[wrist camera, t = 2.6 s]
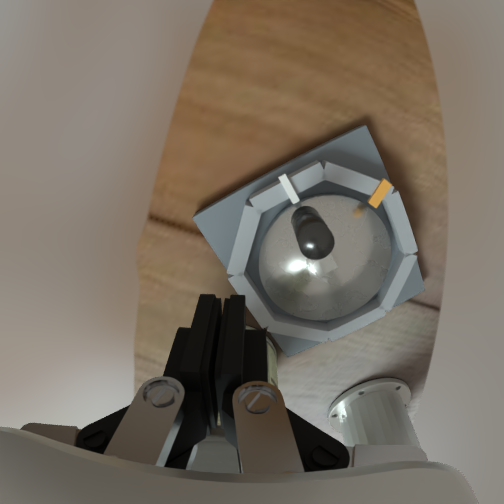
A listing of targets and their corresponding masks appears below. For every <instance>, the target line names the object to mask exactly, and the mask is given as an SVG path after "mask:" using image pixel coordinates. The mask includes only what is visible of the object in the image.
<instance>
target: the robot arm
mask: <svg viewBox="0 0 504 504" xmlns="http://www.w3.org/2000/svg"><path fill="white" fill-rule="evenodd" d="M410 400H411V392H410V389H409V387H408V385H407V384H406V383H405V382H403V381H402V380H399V379H395V378H381V379H375V380H371V381H368V382H365V383H362V384H360V385H357V386H355V387H353V388H352V389H350V390H348V391H347V392H345V393H344V394H342V395H341V396H340V397H339V398H337V399H336V400H335V402H334V403H333V404H332V405H331V407H330V409H329V411H328V422H329V425H330V427H331V428H332V429H333V430H335V431H337V432H339V433H342V435H343V440H344V445H345V446H344V445H343V444H342V443H341V442H339V441H338V440H336V439H334V438H333V437H331V436H329V435H328V434H326V433H325V432H323V431H321V430H320V429H318V428H317V427H315V426H313V425H312V424H310V423H309V422H307V421H306V420H304V419H303V418H301V417H300V416H298V415H297V414H295V413H294V412H292V411H291V410H289V409H288V408H286V407H285V403H284V400H283V396H282V394H281V392H280V390H279V389H278V388H277V387H276V386H274V385H272V384H270V383H268V368H267V345H266V329H246V297H245V295H231V296H230V299H228V298H225V302H224V308H223V315H222V306H221V298H216V296H215V294H200V297H199V300H198V304H197V307H196V311H195V314H194V318H193V322H192V325H191V328H184V327H179V328H178V330H177V333H176V336H175V339H174V342H173V345H172V348H171V352H170V355H169V358H168V361H167V364H166V367H165V371H164V374H163V376H161V377H155V378H152V379H149V380H148V381H146V382H145V383H143V385H142V386H141V387H140V388H139V390H138V392H137V394H136V395H135V397H134V399H133V401H132V403H131V404H130V405H129V406H127V407H125V408H123V409H121V410H119V411H117V412H114V413H112V414H110V415H108V416H106V417H104V418H102V419H100V420H98V421H96V422H94V423H91V424H89V425H88V426H86V427H84V428H83V429H78V428H77V427H76V426H62V425H50V424H41V423H28V424H26V425H24V426H23V427H22V428H21V429H16V428H10V427H0V504H479V503H478V500H477V498H476V496H475V494H474V491H473V490H472V488H471V486H470V484H469V483H468V481H467V479H466V478H465V476H464V475H463V474H462V473H461V472H460V471H459V470H457V469H456V468H454V467H452V466H449V465H447V464H443V463H438V462H430V461H428V459H427V456H426V453H425V452H424V451H423V450H422V449H421V446H420V444H419V441H418V438H417V436H416V433H415V430H414V428H413V425H412V423H411V420H410V418H409V415H408V413H407V410H406V408H407V407H408V405H409V403H410ZM218 413H219V417H220V424H221V429H224V433H225V439H226V440H227V441H228V442H229V443H230V444H231V445H233V446H234V447H235V448H236V453H237V460H238V466H239V473H240V474H233V473H214V472H202V471H191V467H192V464H193V461H194V458H195V455H196V452H197V449H198V443H199V442H201V441H202V440H204V439H205V438H206V436H210V435H211V428H217V423H218Z"/></svg>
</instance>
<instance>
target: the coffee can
mask: <svg viewBox="0 0 504 504" xmlns="http://www.w3.org/2000/svg"><path fill="white" fill-rule="evenodd" d="M246 329H255V328H252V327H249V326H246ZM266 345H267V368H268V383H270V384H272V385H274V386H276V387H277V388H278V378H277V365H276V359H277V354H276V349H275V347H274V345H273V343H272V342H271V340H270V339H269V338H268V337H267V336H266ZM191 471H202V472H214V473H233V474H240V473H239V466H238V460H237V453H236V448H235V447H234V446H233V445H231V444H230V443H229V442H228V441H227V440H226V439H225V433H224V429H221V424H220V417H219V413H218V423H217V428H211V435H210V436H206V438H205V439H204V440H202V441H201V442H199V443H198V449H197V452H196V455H195V458H194V461H193V464H192V467H191Z"/></svg>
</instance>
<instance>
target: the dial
mask: <svg viewBox="0 0 504 504" xmlns="http://www.w3.org/2000/svg"><path fill="white" fill-rule="evenodd" d="M299 200H300V201H299V202H297V203H295V204H293V203H291V204H290V205H288V206H287V207H286V208H284V209H283V210H282V211H281V212H280V213H279V214H278V215H277V216H276V217H275V218H274V219H273V220H272V222H271V223H270V224H269V226H268V228H267V230H266V231H265V233H264V236H263V238H262V241H261V245H260V249H259V273H260V278H261V281H262V284H263V287H264V289H265V291H266V292H267V294H268V296H269V297H270V298H271V300H272V301H273V302H274V303H275V304H276V305H277V306H279V307H280V308H281V309H283V310H284V311H286V312H288V313H289V314H291V315H294V316H296V317H300V318H303V319H309V320H329V319H335V318H338V317H342V316H345V315H347V314H349V313H352V312H353V311H355V310H357V309H359V308H360V307H361V306H363V305H364V304H366V303H367V302H368V301H369V300H370V299H371V298H372V297H373V296H374V295H375V294H376V293H377V291H378V290H379V288H380V287H381V285H382V284H383V282H384V280H385V278H386V276H387V273H388V270H389V266H390V261H391V243H390V238H389V235H388V232H387V230H386V227H385V225H384V224H383V222H382V221H381V219H380V218H379V217H378V215H377V214H376V213H375V212H374V211H372V210H371V209H370V208H369V207H368V206H366V205H365V204H364V203H362V202H361V201H359V200H357V199H355V198H353V197H350V196H347V195H344V194H339V193H319V194H313V195H310V196H306V197H303V198H301V199H299Z"/></svg>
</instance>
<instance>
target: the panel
mask: <svg viewBox="0 0 504 504" xmlns="http://www.w3.org/2000/svg"><path fill="white" fill-rule="evenodd" d="M319 193H339V194H344V195H347V196H350V197H353V198H355V199H357V200H359V201H361V202H362V203H364V204H365V205H366V206H368V207H369V208H370V209H371V210H372V211H374V212H375V213H376V214H377V215H378V217H379V218H380V219H381V221H382V222H383V224H384V225H385V227H386V230H387V232H388V235H389V238H390V243H391V261H390V266H389V270H388V273H387V276H386V278H385V280H384V282H383V284H382V285H381V287H380V288H379V290H378V291H377V293H376V294H375V295H374V296H373V297H372V298H371V299H370V300H369V301H368V302H367V303H366V304H364V305H363V306H361V307H360V308H359V309H357V310H355V311H353V312H352V313H349V314H347V315H345V316H342V317H338V318H335V319H329V320H309V319H303V318H300V317H296V316H294V315H291V314H289V313H288V312H286V311H284V310H283V309H281V308H280V307H279V306H277V305H276V304H275V303H274V302H273V301H272V300H271V298H270V297H269V296H268V294H267V292H266V291H265V289H264V287H263V284H262V281H261V278H260V273H259V249H260V245H261V241H262V238H263V236H264V233H265V231H266V230H267V228H268V226H269V224H270V223H271V222H272V220H273V219H274V218H275V217H276V216H277V215H278V214H279V213H280V212H281V211H282V210H283V209H284V208H286V207H287V206H288V205H290V204H291V203H293V204H295V203H297V202H299V201H300V200H299V199H301V198H303V197H306V196H310V195H313V194H319ZM192 218H193V220H194V222H195V223H196V225H197V226H198V228H199V229H200V231H201V232H202V234H203V235H204V237H205V238H206V240H207V241H208V243H209V244H210V246H211V247H212V249H213V250H214V252H215V253H216V255H217V256H218V258H219V259H220V261H221V262H222V264H223V265H224V267H225V268H226V270H227V274H229V275H228V280H229V282H230V283H231V284H232V286H233V287H234V289H235V290H236V292H237V293H238V295H245V297H246V306H247V308H248V309H249V310H250V312H251V313H252V315H253V316H254V317H255V319H256V320H257V322H258V323H259V325H260V326H261V327H262V329H263V328H265V327H266V328H267V332H270V334H271V335H272V336H273V338H274V339H275V341H276V342H277V343H278V345H279V346H280V348H281V349H282V350H283V352H284V353H285V355H286V356H287V357H290V356H292V355H295V354H297V353H299V352H302V351H304V350H306V349H309V348H311V347H313V346H315V345H318V344H320V343H322V342H324V343H326V341H327V340H329V339H330V341H331V342H332V341H334V340H336V339H339V338H341V337H343V336H345V335H347V334H349V333H351V332H353V331H355V330H358V329H360V328H362V327H364V326H366V325H368V324H370V323H372V322H374V321H376V320H377V319H379V318H381V317H383V316H385V315H386V313H385V312H386V311H390V310H391V309H392V308H393V307H395V306H397V305H399V304H401V303H403V302H404V301H406V300H408V299H410V298H412V297H413V296H415V295H417V294H419V293H420V292H422V291H424V290H425V288H424V284H423V280H422V276H421V272H420V269H419V265H418V261H417V255H416V254H415V252H417V251H418V249H417V246H416V242H415V239H414V236H413V232H412V229H411V226H410V223H409V220H408V217H407V214H406V211H405V208H404V205H403V203H402V200H401V197H400V194H399V192H398V191H397V190H396V189H394V186H392V184H391V182H390V179H389V176H388V174H387V172H386V169H385V167H384V164H383V162H382V160H381V157H380V155H379V153H378V150H377V148H376V146H375V144H374V141H373V139H372V137H371V135H370V133H369V131H368V129H367V126H366V125H360V126H358V127H356V128H354V129H352V130H350V131H347V132H345V133H343V134H341V135H339V136H337V137H335V138H333V139H331V140H329V141H327V142H325V143H323V144H321V145H319V146H317V147H315V148H313V149H311V150H309V151H307V152H305V153H303V154H301V155H300V156H298V157H296V158H294V159H292V160H290V161H288V162H286V163H284V164H282V165H281V166H279V167H277V168H275V169H273V170H271V171H269V172H267V173H266V174H264V175H262V176H260V177H258V178H257V179H255V180H253V181H251V182H249V183H247V184H246V185H244V186H242V187H240V188H239V189H237V190H235V191H233V192H231V193H230V194H228V195H226V196H224V197H223V198H221V199H219V200H218V201H216V202H214V203H212V204H211V205H209V206H207V207H206V208H204V209H202V210H200V211H199V212H197V213H195V214H194V216H193V217H192Z"/></svg>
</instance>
